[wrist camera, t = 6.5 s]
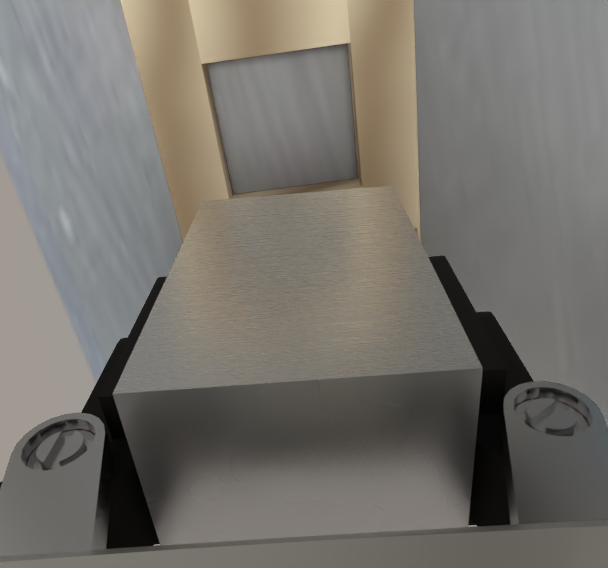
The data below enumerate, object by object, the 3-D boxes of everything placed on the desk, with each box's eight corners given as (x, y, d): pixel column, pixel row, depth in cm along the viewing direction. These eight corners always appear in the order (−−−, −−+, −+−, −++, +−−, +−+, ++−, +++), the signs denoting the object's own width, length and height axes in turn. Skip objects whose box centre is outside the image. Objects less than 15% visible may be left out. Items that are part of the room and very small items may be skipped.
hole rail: (395, -327, 19) (404, -353, 18) (418, 354, 33) (424, 370, 32) (62, -271, 19) (44, -292, 18) (224, 377, 33) (221, 394, 32)
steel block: (393, 185, 13) (482, 368, 6) (393, 344, 15) (461, 596, 9) (202, 200, 13) (112, 394, 7) (229, 356, 15) (181, 612, 9)
